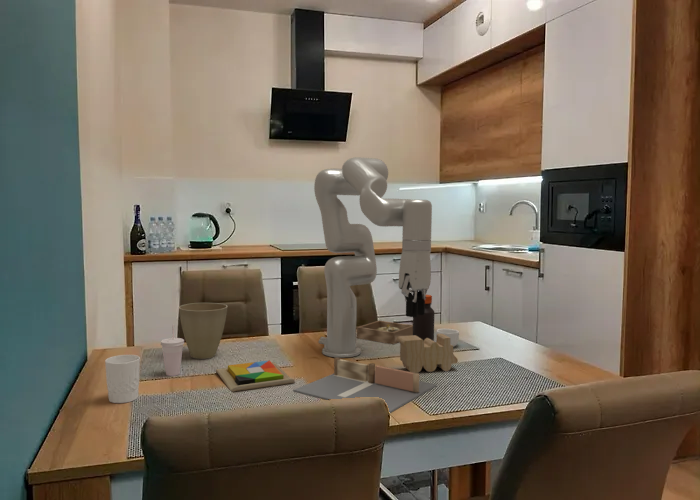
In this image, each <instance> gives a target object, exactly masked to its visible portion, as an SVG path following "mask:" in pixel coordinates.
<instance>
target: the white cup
mask: <svg viewBox="0 0 700 500" xmlns="http://www.w3.org/2000/svg"><path fill="white" fill-rule="evenodd" d="M104 363H105V365H104V366H105V378H106V387H107V397H108V401H109V402H110V403H113V404H126V403H130V402H133V401H136V400H137V399H138V398H139V385H140V376H141V375H140V373H141V371H140V369H141V368H140V367H141V365H140V363H141V357H140V356H139V355H137V354H118V355H114V356H110V357H107V358H106V359H105V360H104Z"/></svg>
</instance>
